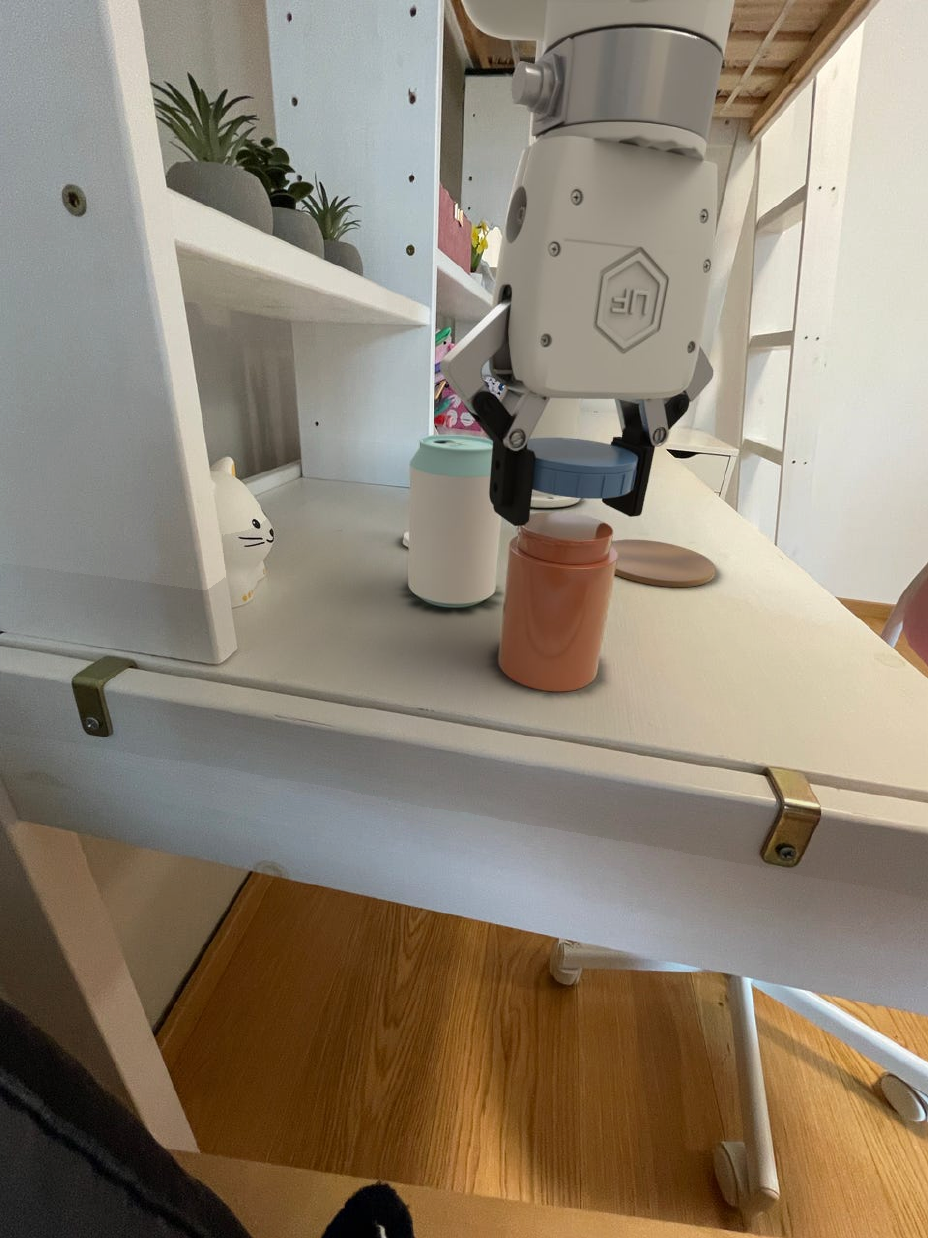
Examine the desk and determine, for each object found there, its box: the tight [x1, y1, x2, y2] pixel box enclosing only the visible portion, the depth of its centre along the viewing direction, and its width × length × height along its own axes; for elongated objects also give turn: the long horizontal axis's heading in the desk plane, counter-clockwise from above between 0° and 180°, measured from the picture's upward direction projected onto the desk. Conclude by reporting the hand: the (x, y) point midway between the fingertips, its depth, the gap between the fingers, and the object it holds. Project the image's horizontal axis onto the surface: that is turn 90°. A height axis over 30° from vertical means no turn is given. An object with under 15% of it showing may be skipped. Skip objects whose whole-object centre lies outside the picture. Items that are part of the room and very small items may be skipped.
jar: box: [497, 511, 618, 692], centre depth 36 cm, size 6×6×9 cm
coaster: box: [611, 539, 717, 588], centre depth 56 cm, size 11×11×1 cm
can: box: [407, 434, 503, 609], centre depth 45 cm, size 7×7×12 cm
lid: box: [527, 438, 638, 500], centre depth 33 cm, size 7×7×2 cm
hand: (567, 511), depth 34 cm, fingers closed on lid, 6 cm apart
